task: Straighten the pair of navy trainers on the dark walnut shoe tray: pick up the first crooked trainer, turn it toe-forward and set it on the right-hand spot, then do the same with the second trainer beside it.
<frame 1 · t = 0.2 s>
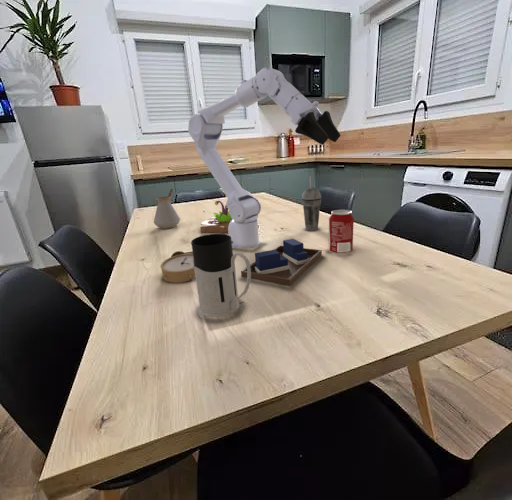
hand: (331, 140, 73), 31 cm above the table, tool tilted 45°, fingers open, 7 cm apart
coffee pot: (171, 224, 138), on the table
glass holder: (228, 314, 59), on the table
soda can: (340, 252, 87), on the table
alarm clock: (186, 271, 81), on the table
shoe tray: (284, 267, 79), on the table
trainer a: (272, 269, 76), point 1 cm above the table, touching shoe tray
trainer b: (295, 259, 82), point 1 cm above the table, touching shoe tray
plant: (225, 227, 125), on the table
beverage cup: (311, 229, 113), on the table
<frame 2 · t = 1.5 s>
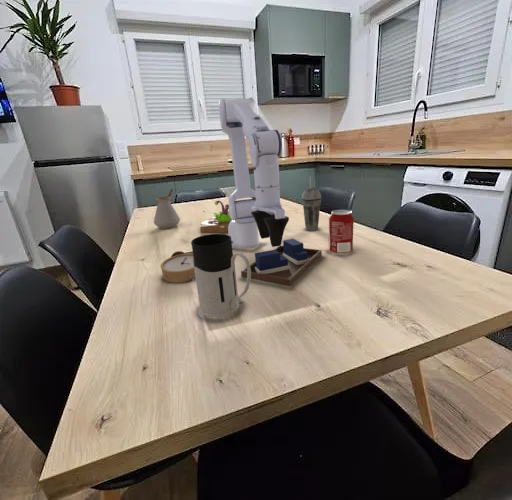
hand: (270, 241, 73), 8 cm above the table, tool pointing down, fingers open, 7 cm apart
nothing on the table moved.
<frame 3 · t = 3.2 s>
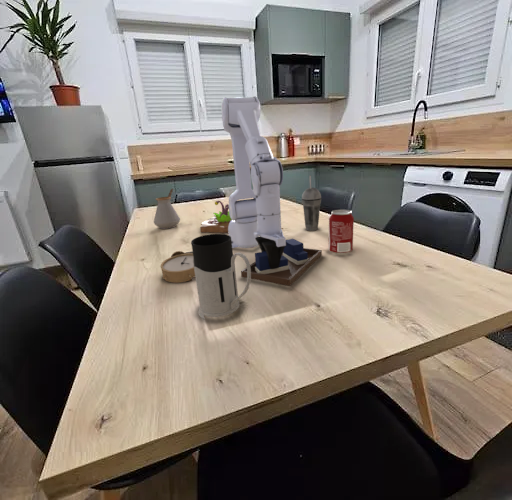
hand: (271, 265, 76), 2 cm above the table, tool pointing down, fingers closed on trainer a, 3 cm apart
trainer a: (272, 269, 76), point 1 cm above the table, touching gripper, shoe tray
everything else where it was.
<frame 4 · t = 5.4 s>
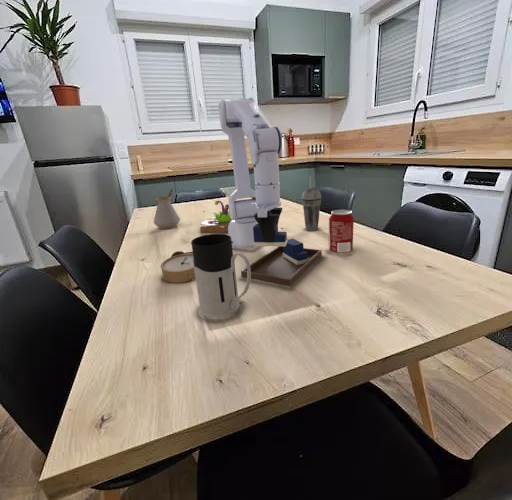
hand: (270, 239, 73), 9 cm above the table, tool pointing down, fingers closed on trainer a, 3 cm apart
trainer a: (270, 244, 74), point 8 cm above the table, touching gripper
everything else where it was.
when the fingers open (2 cm above the table, at t = 7.8 s): trainer a stays where it is, resting on shoe tray.
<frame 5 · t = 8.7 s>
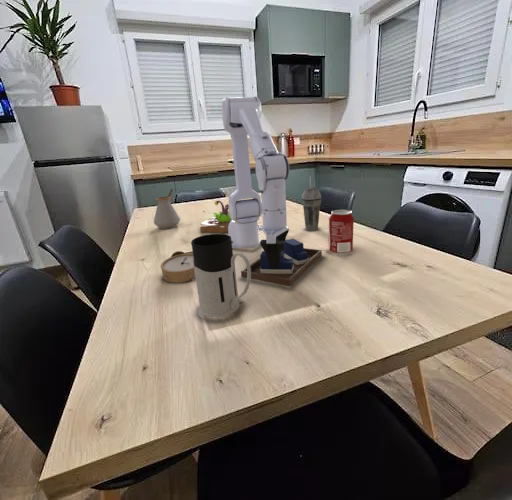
hand: (276, 262, 74), 3 cm above the table, tool pointing down, fingers open, 7 cm apart
trainer a: (277, 270, 75), point 1 cm above the table, touching shoe tray
everything else where it was.
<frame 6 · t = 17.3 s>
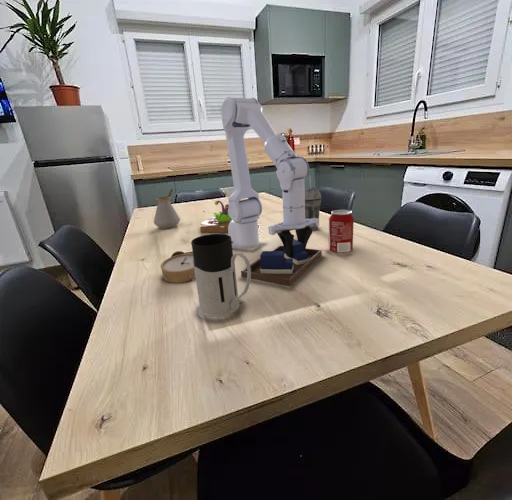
hand: (295, 255, 81), 2 cm above the table, tool pointing down, fingers closed on trainer b, 3 cm apart
trainer b: (295, 259, 82), point 1 cm above the table, touching gripper, shoe tray
everything else where it was.
when the fingers open (2 cm above the table, at t = 21.7 s): trainer b stays where it is, resting on shoe tray.
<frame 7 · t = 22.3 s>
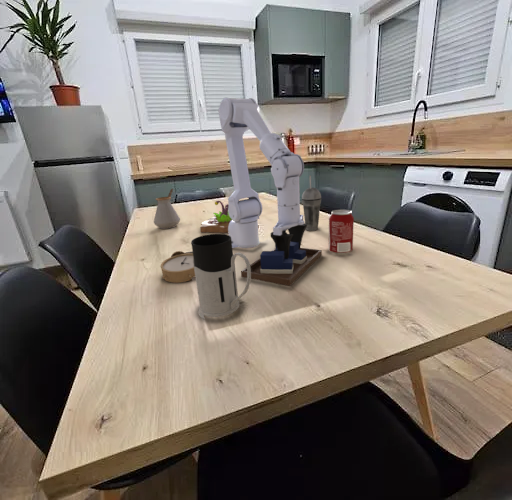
hand: (290, 253, 81), 3 cm above the table, tool pointing down, fingers open, 7 cm apart
trainer b: (290, 260, 82), point 1 cm above the table, touching shoe tray
everything else where it was.
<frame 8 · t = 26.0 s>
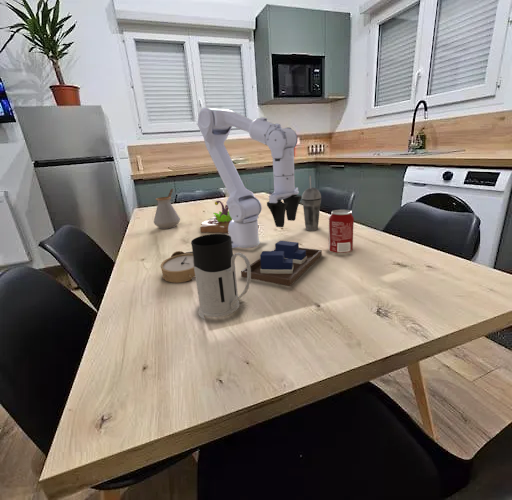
hand: (285, 223, 86), 9 cm above the table, tool pointing down, fingers open, 7 cm apart
nothing on the table moved.
at the end: trainer a 0.0 cm from the target spot in the shoe tray, point 0.8 cm above the shoe tray's base; trainer b 0.0 cm from the target spot in the shoe tray, point 0.8 cm above the shoe tray's base; trainer a tilted 0° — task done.
